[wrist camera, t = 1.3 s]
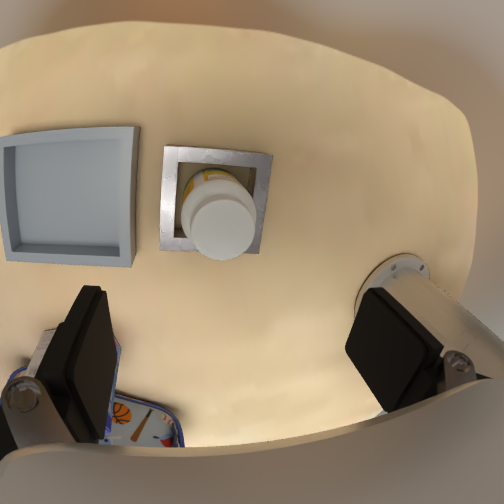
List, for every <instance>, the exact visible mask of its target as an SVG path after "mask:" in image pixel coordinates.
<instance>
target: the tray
mask: <svg viewBox="0 0 504 504" xmlns="http://www.w3.org/2000/svg"><path fill="white" fill-rule="evenodd" d="M139 135H140V127H90V128H73V129H60V130H49V131H40V132H31V133H23V134H16V135H10V136H4V137H0V224H1V231H2V238H3V244H4V250H5V255H6V260H7V261H17V262H33V263H49V264H67V265H86V266H106V267H129V268H131V267H132V264H133V261H134V259H135V256H136V182H137V162H138V147H139Z"/></svg>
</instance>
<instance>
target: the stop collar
mask: <svg viewBox="0 0 504 504" xmlns="http://www.w3.org/2000/svg"><path fill="white" fill-rule="evenodd" d="M272 159H273V155H270V154H266V153H260V152H251V151H242V150H233V149H222V148H210V147H196V146H179V145H166V146H164V158H163V172H162V188H161V209H160V250H169V251H196V252H199V251H198V250H197V248H196V247H195V245H194V244H193V243H191V241H190V240H189V239H188V238H187V236H186V235H185V233H184V230H183V229H179V228H175V209H176V192H177V178H178V166H179V162H193V163H208V164H221V165H233V166H244V167H251V168H250V176H249V184H248V193H249V194H250V196H251V197H252V199H253V201H254V204H255V207H256V223H255V234H254V238H253V241H252V243H251V244H250V246H249V247H248V249H247V250H246V251H245V252H244V253H252V254H259V248H260V242H261V235H262V228H263V221H264V214H265V208H266V201H267V194H268V187H269V180H270V173H271V166H272Z"/></svg>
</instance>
